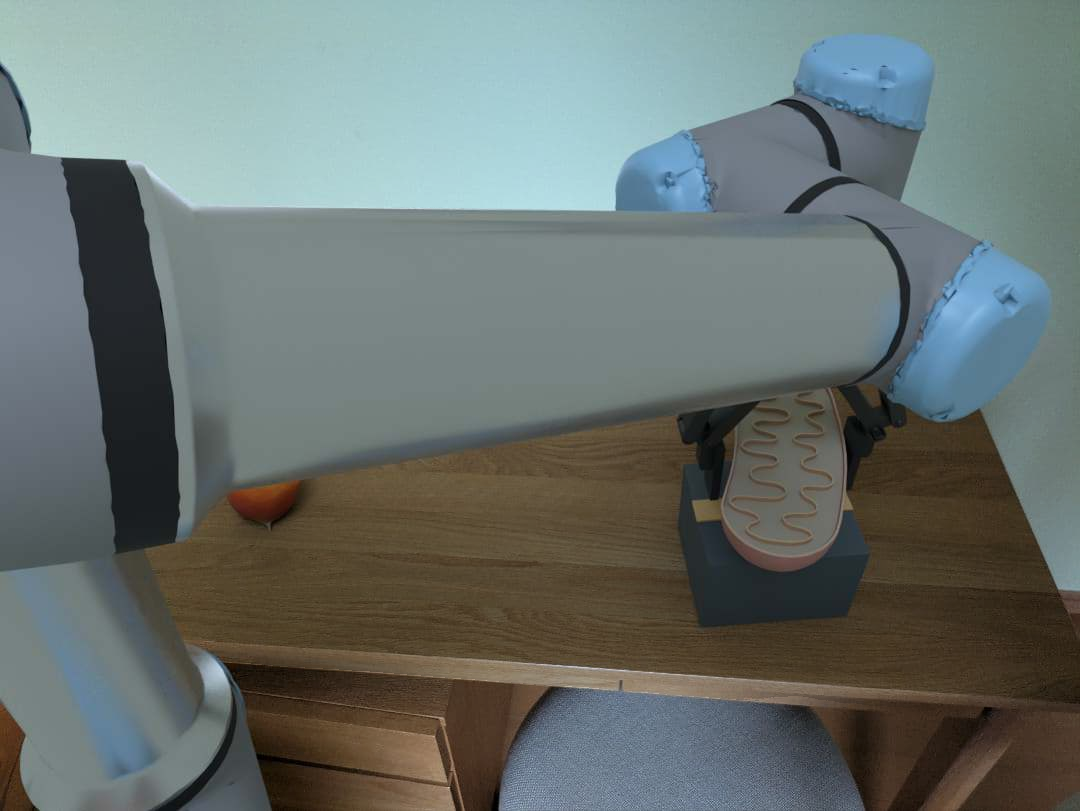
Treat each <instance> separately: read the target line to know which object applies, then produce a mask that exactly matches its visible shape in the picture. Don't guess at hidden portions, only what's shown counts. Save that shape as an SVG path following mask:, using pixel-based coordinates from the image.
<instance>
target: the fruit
mask: <svg viewBox="0 0 1080 811" xmlns="http://www.w3.org/2000/svg"><path fill="white" fill-rule="evenodd" d="M301 481H302V480H298V481H292V482H287V483H281V484H275V485H269V486H263V487H258V488H252V489H246V490H240V491H235V492H230V493H229V494H228V495H227V496H226V498H227V501H228V503H229V505H230V506H231V508H233V510H234V511H235V512H236V513H237V514H238V516H239V517H240V518H242V521H244V520H245V519H249V520H252V521H255V522H258V523H259V524H260V523H261V524H262V525H264V526H266V527H267V530H268V532H270V533H271V531H272V527H271V526H272V523H273V522H274V521H276V520H279V519H280V518H281V517H282V516H284V515H285V514H286V513H287V512H288V511H289V510H290V508H291V507H292V506H293V503H294V502H295V499H296V497H297V494H298V493H299V489H300V487H301Z"/></svg>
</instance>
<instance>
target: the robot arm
mask: <svg viewBox="0 0 1080 811" xmlns="http://www.w3.org/2000/svg"><path fill="white" fill-rule="evenodd" d="M934 77H935V64H934V61H933V59H932V57H931V55H930V54H929V53H928V51H926V50H925V49H924V48H923V47H922V46H920V45H918V44H916V43H914V42H912V41H909V40H906V39H902V38H900V37H897V36H892V35H886V34H880V33H867V32H865V33H862V32H861V33H859V32H858V33H845V34H838V35H831V36H829V37H826V38H822V39H820V40H817V41H816V42H814V43H813V44H812V45H811V46H810V48H808V49H807V50H806V51H805V52H804V53H803V54H802V56H801V58H800V60H799V64H798V68H797V74H796V76H795V78H794V79H793V80H792V88H793V94H792V95H790V96H787V97H784V98H781V99H779V100H775V101H774V102H771V103H770V104H769V105H765V106H762V107H757V108H755V109H752V110H749V111H745V112H742V113H739V114H736V115H732V116H729V117H726V118H723V119H720V120H715V121H713V122H709V123H706V124H703V125H700V126H697V127H693V128H690V129H687V130H685V129H681V130H679V131H678V132H676V133H674V134H673V135H672V136H670V137H667V138H665V139H662V140H660V141H657V142H655V143H651V144H650V145H648V146H645V147H642V148H640V149H638V150H635V152H633V153H632V154H631V155H629V156H628V158H627V159H626V160H625V162H623V164H622V166H621V167H620V169H619V171H618V174H617V177H616V181H615V186H614V187H615V188H614V192H615V194H614V195H615V206H614V210H593V209H592V210H586V209H583V210H581V209H575V210H574V209H528V208H527V209H525V208H523V209H519V208H462V207H461V208H457V207H456V208H455V207H454V208H452V207H397V206H396V207H388V206H385V207H383V206H328V205H327V206H326V205H325V206H324V205H263V204H261V205H260V204H259V205H254V204H253V205H252V204H196V203H194V202H192V201H191V200H189V199H187V198H185V197H183V196H181V195H180V194H179V193H178V192H177V191H176V190H174V189H173V188H172V187H171V186H170V185H169V184H167V183H166V182H165V181H163V180H162V179H161V178H160V177H159V176H158V175H157V174H156V173H154V172H153V171H152V170H151V169H150V168H148V166H146V165H145V164H144V163H143V162H141V161H140V160H131V159H118V158H117V159H116V158H113V159H111V158H93V157H92V158H91V157H90V158H89V157H63V156H62V157H61V156H53V155H46V154H37V153H32V140H31V135H32V124H31V119H30V114H29V109H28V106H27V104H26V101H25V99H24V97H23V93H22V92H21V89H20V87H19V86H18V84H17V81H16V79H15V78H14V76H13V74H12V72H11V71H10V69H8V68H7V67H6V66H5V65H4V64H3V62H2V61H1V60H0V702H1V704H2V705H3V706H4V708H5V709H6V710H7V712H8V713H9V714H10V716H11V717H12V719H13V720H14V721H15V723H16V724H17V725H18V727H20V730H22V732H23V733H24V735H25V736H24V738H23V742H22V745H21V751H20V755H19V771H20V779H21V783H22V786H23V789H24V791H25V793H26V795H27V797H28V799H29V800H30V802H31V803H32V805H34V807H35V808H37V810H38V811H273V810H272V807H271V803H270V800H269V797H268V792H267V789H266V786H265V785H266V784H265V782H264V779H263V778H264V777H263V775H262V771H261V768H260V764H259V761H258V757H257V754H256V751H255V747H254V743H253V740H252V737H251V733H250V729H249V726H248V722H247V718H248V716H247V710H246V705H245V704H246V703H245V701H244V700H245V699H244V697H243V694H242V691H241V690H240V688H239V686H238V684H237V682H235V681H234V679H233V676H232V674H231V672H230V670H229V668H227V666H226V665H225V664H224V663H223V662H222V661H221V660H220V659H219V658H218V657H217V656H215V655H214V654H212V653H210V652H209V651H207V650H206V649H203V648H200V647H198V646H197V645H194V644H191V643H189V642H184V640H183V638H182V636H181V633H180V630H179V628H178V626H177V623H176V621H175V618H174V616H173V614H172V611H171V608H170V607H169V604H168V602H167V600H166V598H165V597H166V596H165V595H164V592H163V590H162V587H161V585H160V583H159V580H158V578H157V576H156V573H155V571H154V569H153V566H152V564H151V561H150V559H149V557H148V555H147V553H146V550H145V549H151V548H155V547H156V548H157V547H160V546H166V545H170V544H174V543H179V542H180V543H181V542H185V541H187V540H189V539H190V538H191V537H192V536H193V535H194V533H195V532H196V531H197V529H198V528H199V527H200V526H201V524H203V522H204V521H205V520H206V518H207V517H208V516H209V515H210V514H211V512H212V511H213V510H214V509H215V507H216V506H217V505H218V504H219V503H220V502H221V501H222V500H223V499H224V498H225V497H227V495H228V494H229V493H230V492H235V491H240V490H246V489H252V488H258V487H263V486H269V485H275V484H281V483H287V482H292V481H298V480H301V481H304V480H309V479H315V478H319V477H320V478H321V477H325V476H332V475H333V476H334V475H339V474H344V473H350V472H356V471H361V470H367V469H373V468H377V467H384V466H389V465H395V464H402V463H407V462H413V461H419V460H424V459H429V458H430V459H431V458H437V457H441V456H447V455H453V454H454V455H455V454H459V453H464V452H470V451H475V450H476V451H477V450H482V449H489V448H494V447H500V446H505V445H511V444H517V443H523V442H528V441H533V440H540V439H546V438H552V437H557V436H564V435H569V434H574V433H579V432H585V431H586V432H587V431H592V430H598V429H603V428H604V429H605V428H609V427H614V426H620V425H621V426H622V425H626V424H632V423H637V422H643V421H649V420H655V419H661V418H666V417H672V416H677V415H678V416H677V418H676V423H677V427H678V431H679V436H680V439H681V442H682V444H683V445H685V446H686V445H687V446H691V445H694V444H695V443H696V448H695V458H696V463H698V465H699V468H700V470H701V471H702V470H705V473H704V480H705V484H706V487H707V491H708V495H709V499H710V501H713V500H719V494H720V487H721V480H722V473H723V466H724V461H725V457H726V450H727V448H726V445H725V443H724V439H725V438H726V437H727V436H728V435H729V434H730V433H731V432H732V431H733V430H735V427H736V426H737V425H738V424H739V423H740V422H741V421H742V420H743V419H744V418H745V417H746V416H747V415H748V414H749V413H750V412H751V411H752V410H753V409H754V408H755V407H756V406H757V405H758V404H759V403H760V402H761V401H762V400H765V399H771V398H777V397H782V396H788V395H794V394H800V393H806V392H811V391H817V390H823V389H829V388H830V389H835V388H837V390H838V391H839V393H841V394H842V396H843V398H844V399H845V401H846V402H847V404H848V405H849V406H850V408H851V409H852V411H853V412H854V414H855V415H847V416H846V420H845V424H844V428H843V434H844V439H845V446H846V454H847V478H846V491H850V490H851V491H852V489H853V486H854V482H855V479H856V476H857V473H858V470H859V466H860V463H861V461H862V458H863V459H864V458H869V457H870V456H871V454H873V450H874V448H875V445H876V443H879V442H882V441H884V440H886V438H887V436H888V435H887V432H886V430H885V428H887V427H890V426H892V428H894V429H900V428H903V427H905V426H906V424H908V417H907V410H906V408H907V409H909V410H911V411H912V412H913V413H915V414H917V415H919V416H920V417H922V418H924V419H926V420H929V421H932V422H935V423H948V422H954V421H957V420H960V419H963V418H965V417H967V416H969V415H970V414H972V413H974V412H976V411H978V410H979V409H981V408H982V407H983V406H985V405H986V404H988V403H989V402H990V401H992V400H993V399H994V398H995V397H996V396H997V395H999V394H1000V393H1001V392H1002V391H1003V390H1005V388H1006V387H1007V386H1008V385H1009V384H1010V382H1012V380H1013V379H1014V378H1015V377H1016V376H1017V375H1018V373H1020V371H1021V370H1022V369H1023V367H1024V366H1025V364H1027V362H1028V361H1029V359H1030V358H1031V356H1032V355H1033V353H1034V352H1035V350H1036V348H1037V347H1038V345H1039V343H1040V341H1041V340H1042V338H1043V336H1044V334H1045V332H1046V329H1047V328H1048V324H1049V321H1050V318H1051V313H1052V306H1053V304H1052V303H1053V302H1052V301H1053V299H1052V294H1051V289H1050V287H1049V285H1048V284H1047V282H1046V281H1045V279H1044V278H1043V277H1042V276H1041V275H1040V274H1039V273H1037V272H1036V271H1034V270H1032V269H1030V268H1029V267H1027V266H1026V265H1024V264H1023V263H1021V262H1019V261H1018V260H1017V259H1014V258H1012V257H1011V256H1009V255H1007V254H1006V253H1005V252H1003V251H1002V250H999V249H998V248H996V247H995V246H994V244H993V243H992V241H990V240H989V239H986V238H982V239H981V240H979V239H978V238H975V237H973V236H972V235H969V234H967V233H965V232H963V231H961V230H959V229H957V228H955V227H952V226H951V225H949V224H947V223H945V222H942V221H940V220H939V219H936V218H935V217H933V216H930V215H928V214H926V213H925V212H922V211H920V210H918V209H917V208H914V207H912V206H910V205H908V204H905V203H903V202H902V198H903V194H904V190H905V188H906V184H907V181H908V178H909V175H910V171H911V168H912V164H913V161H914V159H915V155H916V152H917V148H918V145H919V142H920V139H921V135H922V132H923V131H925V130H926V126H927V121H926V118H927V113H928V112H927V111H928V107H929V103H930V102H929V101H930V98H931V94H932V93H931V92H932V87H933V84H934ZM864 384H870V385H872V386H875V387H876V388H877V390H878V394H879V395H878V396H879V401H880V404H879V405H876V406H872V404H871V403H870V401H869V399H868V398H867V396H866V395H865V393H864V391H863V390H862V389H861V387H860V385H864Z"/></svg>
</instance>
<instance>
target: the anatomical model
mask: <svg viewBox="0 0 1080 811" xmlns="http://www.w3.org/2000/svg"><path fill="white" fill-rule="evenodd" d="M834 397H835V396H834V394H833V392H832V390H831V388H829V389H823V390H817V391H811V392H806V393H800V394H794V395H788V396H782V397H777V398H771V399H765V400H762V401H761V402H760V403H759V404H758V405H757V406H756V407H755V408H754V409H753V410H752V411H751V412H750V413H749V414H748V415H747V416H746V417H745V418H744V419H743V420H742V421H741V422H740V423H739V424H738V425H737V426H736V427H735V428H734V446H733V454H732V459H731V460H732V465H731V470H730V474H729V477H728V481H727V484H726V488H725V491H724V494H723V498H722V501H721V521H722V525H723V529H724V532H725V534H726V536H727V538H728V540H729V542H730V543H731V545H732V546H733V548H734V549H735V550H736V551H737V552H738V553H739V554H740V555H741V556H742V557H743V558H745V559H746V560H747V561H749V562H751V563H753V564H754V565H756V566H758V567H761V568H764V569H767V570H772V571H779V572H786V571H795V570H798V569H802V568H805V567H807V566H809V565H811V564H813V563H815V562H816V561H817V560H819V559H820V558H821V557H822V556H823V555H825V554H826V552H827V551H828V550H829V548H830V547H831V546H832V544H833V543H834V541H835V539H836V537H837V535H838V532H839V529H840V525H841V522H842V516H843V508H844V501H845V494H846V493H847V490H846V478H847V454H846V446H845V439H844V434H843V430H844V428H843V425H842V421H841V418H840V414H839V411H838V407H837V404H836V401H835V398H834Z"/></svg>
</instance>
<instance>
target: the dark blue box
mask: <svg viewBox="0 0 1080 811" xmlns="http://www.w3.org/2000/svg"><path fill="white" fill-rule="evenodd" d="M732 460H733V459H730V460H724V466H723V473H722V480H721V487H720V494H719V500H713V501H710V499H709V495H708V491H707V487H706V484H705V480H704V473H705V470H702V471H701V470H700V468H699V465H698V462H693V463H683V467H682V478H681V488H680V500H679V509H678V510H679V511H678V520H677V521H678V522H677V530H678V535H679V539H680V544H681V549H682V553H683V558H684V562H685V566H686V571H687V575H688V581H689V585H690V590H691V594H692V598H693V603H694V608H695V611H696V616H697V621H698V626H699V628H710V627H724V626H737V625H738V626H739V625H750V624H763V623H777V622H778V623H779V622H790V621H803V620H817V619H818V620H819V619H829V618H843V617H848V614H849V611H850V609H851V606H852V603H853V601H854V598H855V596H856V593H857V590H858V589H859V586H860V583H861V580H862V577H863V575H864V572H865V569H866V567H867V565H868V561H869V559H870V556H871V551H870V549H869V546H868V544H867V542H866V540H865V537H864V535H863V533H862V530H861V528H860V526H859V524H858V522H857V519H856V517H855V515H854V512H853V510H854V506H853V505H852V502H851V501H850V498H849V496H848V494H847V492H846V494H845V501H844V508H843V516H842V522H841V525H840V529H839V532H838V535H837V537H836V539H835V541H834V543H833V544H832V546H831V547H830V548H829V550H828V551H827V552H826V554H825V555H823V556H822V557H821V558H820V559H819V560H817V561H816V562H815V563H813V564H811V565H809V566H807V567H805V568H802V569H798V570H795V571H786V572H779V571H772V570H767V569H764V568H761V567H758V566H756V565H754V564H753V563H751V562H749V561H747V560H746V559H745V558H743V557H742V556H741V555H740V554H739V553H738V552H737V551H736V550H735V549H734V548H733V546H732V545H731V543H730V542H729V540H728V538H727V536H726V534H725V532H724V529H723V525H722V521H721V501H722V498H723V494H724V491H725V488H726V484H727V481H728V477H729V474H730V470H731V465H732Z"/></svg>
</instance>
